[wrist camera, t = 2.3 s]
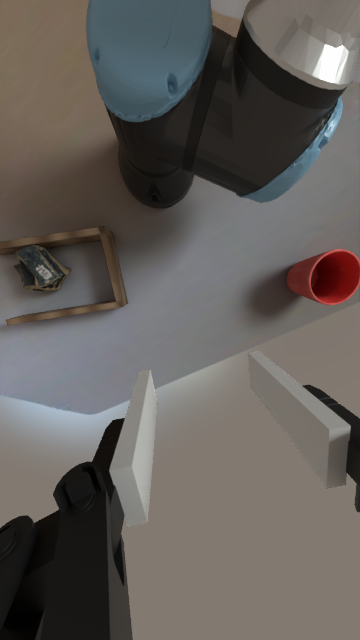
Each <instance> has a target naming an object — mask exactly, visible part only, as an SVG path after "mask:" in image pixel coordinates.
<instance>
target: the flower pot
mask: <svg viewBox="0 0 360 640" xmlns="http://www.w3.org/2000/svg"><path fill="white" fill-rule="evenodd" d="M359 283H360V261H359V259H358V258H357V257H356V256H355V255H354V254H353V253H352V252H350V251H347V250H343V249H336V250H332V251H328V252H325V253H322V254H319V255H316V256H314V257H311V258H308V259H306V260H303V261H301V262H298V263H296V264H295V265H294V266H293V267H292V268H291V269H290V270H289V272H288V275H287V285H288V287H289V288H290V290H292V291H293V292H295V293H297V294H299V295H302V296H304V297H306V298H309V299H311V300H313V301H316V302H319V303H321V304H325V305H335V304H339V303H342V302H344V301H346V300H347V299H348V298H350V297H351V296H352V295H353V294H354V292H355V291H356V289H357V288H358V286H359Z"/></svg>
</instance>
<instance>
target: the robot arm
mask: <svg viewBox="0 0 360 640" xmlns="http://www.w3.org/2000/svg"><path fill="white" fill-rule="evenodd" d="M212 23H213V20H212V12H211V2H210V0H89V3H88V9H87V19H86V32H87V44H88V50H89V54H90V58H91V62H92V65H93V69H94V72H95V76H96V82H97V86H98V90H99V93H100V95H101V97H102V100H103V101H104V104H105V107H106V109H107V112H108V114H109V117H110V120H111V122H112V125H113V127H114V130H115V133H116V135H117V138H118V140H119V143H120V145H119V155H118V157H119V166H120V171H121V174H122V177H123V179H124V181H125V184H126V186H127V188H128V189H129V191H130V192H131V193H132V195H133V196H134V197H135V198H136V199H137V200H139V201H140V202H142V203H143V204H145V205H147V206H150V207H154V208H166V207H170V206H172V205H175V204H176V203H178V202H179V201H180V200H182V199H183V198H184V197H185V195H186V194H187V193H188V191H189V189H190V187H191V185H192V182H193V178H194V175H196V176H198V177H201V178H203V179H205V180H207V181H210V182H212V183H214V184H216V185H219V186H221V187H223V188H225V189H228V190H230V191H232V192H234V193H236V195H237V196H239V197H241V198H248V199H251V200H254V201H256V202H260V203H262V202H269V201H272V200H274V199H276V198H278V197H279V196H281V195H282V194H284V193H285V192H286V191H287V190H289V189H290V188H291V187H292V186H293V185H294V184H295V183H296V182H297V181H298V180H299V179H300V178H301V177H302V176H303V175H304V174H305V173H306V172H307V170H308V169H309V168H310V167H311V166H312V164H313V163H314V162H315V160H316V159H317V158H318V156H319V155H320V150H321V148H322V147H323V146H324V145H325V144H326V143H328V142H329V140H330V138H331V137H332V135H333V133H334V131H335V129H336V127H337V125H338V123H339V120H340V118H341V115H342V109H343V103H342V101H341V94H342V93H343V92H344V90H345V89H346V88H347V86H348V85H349V84H350V82H351V80H352V79H353V77H354V73H355V67H356V60H357V53H358V47H359V44H360V0H250V1H249V2H248V4H247V6H246V8H245V11H244V14H243V18H242V21H241V24H240V28H239V31H238V35H237V38H236V37H232V36H231V35H229V34H227V33H226V32H224V31H222V30H221V29H219V28H217V27H216V26H214V25H212ZM248 357H249V371H250V386H251V388H252V389H253V391H254V392H255V394H256V395H257V396H258V398H259V399H260V400H261V402H262V403H263V404H264V405H265V407H266V408H267V410H268V411H269V412H270V413H271V415H272V416H273V417H274V419H275V420H276V422H277V423H278V424H279V426H280V427H281V428H282V430H283V431H284V432H285V433H286V435H287V436H288V438H289V439H290V440H291V442H292V443H293V444H294V446H295V447H296V448H297V450H298V451H299V452H300V454H301V455H302V456H303V458H304V459H305V460H306V462H307V463H308V464H309V466H310V467H311V468H312V470H313V471H314V472H315V474H316V475H317V476H318V478H319V479H320V480H321V482H322V483H323V484H324V486H325V487H326V488H332V487H337V486H342V485H346V477H347V473H348V474H349V475H350V476H351V478H352V479H353V480H354V481H355V482H356V483H357V486H356V497H355V507H356V510H357V512H360V419H359V418H358V417H357V416H355V415H354V414H353V413H351V412H350V411H349V410H347V409H346V408H345V407H343V406H342V405H340V404H338V402H336V401H335V400H334V399H332V398H330V396H328V395H327V394H326V393H324V392H323V391H322V390H320V389H317V388H315V387H313V386H311V385H305V386H301V385H300V384H299V383H298V382H296V381H295V380H294V379H293V378H292V377H290V376H289V375H288V374H287V373H285V372H284V371H283V370H282V369H280V368H279V367H278V366H277V365H276V364H274V363H273V362H272V361H271V360H269V359H268V358H267V357H266V356H265V355H263V354H262V353H261V352H260V351H255V352H249V353H248ZM157 405H158V403H157V398H156V394H155V389H154V384H153V379H152V375H151V370H144V371H139V374H138V377H137V381H136V384H135V387H134V390H133V394H132V397H131V400H130V404H129V407H128V410H127V414H126V417H125V418H122V419H116V420H113V421H112V422H111V423H110V424H109V426H108V427H107V428H106V429H105V432H104V435H103V437H102V440H101V442H100V444H99V448H98V449H97V451H96V454H95V456H94V459H93V461H92V462H84V463H81V464H79V465H77V466H75V467H74V468H72V469H71V470H70V471H69V472H67V473H66V474H65V475H64V476H63V477H62V479H61V480H60V482H59V483H58V484H57V486H56V488H55V491H54V493H53V496H54V498H55V500H56V502H57V505H58V507H59V510H58V511H56V512H54V513H52V514H50V515H49V516H47V517H45V518H43V519H41V520H39V521H38V522H36V523H34V522H33V520H32V519H31V518H30V517H29V516H19V517H17V518H15V519H13V520H11V521H9V522H8V523H6V524H5V525H4V526H2V527H1V528H0V640H133V639H132V628H131V618H130V608H129V596H128V585H127V576H126V565H125V554H124V543H123V539H122V535H121V530H122V526H123V520H124V518H125V521H126V524H127V527H130V526H135V525H140V524H145V523H148V513H149V512H148V511H149V501H150V487H151V476H152V464H153V452H154V440H155V429H156V428H155V427H156V417H157V416H156V415H157Z"/></svg>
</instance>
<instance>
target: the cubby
mask: <svg viewBox="0 0 360 640" xmlns="http://www.w3.org/2000/svg"><path fill="white" fill-rule="evenodd" d="M98 240H101V241H102V245H103V249H104V254H105V258H106V262H107V266H108V270H109V274H110V279H111V283H112V287H113V291H114V295H115V300H114V301H108V302H102V303H95V304H89V305H83V306H77V307H70V308H64V309H58V310H52V311H46V312H39V313H33V314H27V315H22V316H18V317H14V318H11V319H7V320H6V322H7V325H13V324H19V323H25V322H31V321H38V320H44V319H50V318H56V317H62V316H69V315H75V314H81V313H87V312H93V311H99V310H106V309H112V308H118V307H123V306H125V305H126V304H128V301H127V297H126V292H125V288H124V283H123V279H122V274H121V270H120V265H119V261H118V256H117V252H116V248H115V243H114V239H113V234H112V232H111V231H110V230H108V229H107V228H106V227H105V226H103V227H96V228H89V229H83V230H76V231H69V232H63V233H56V234H49V235H43V236H36V237H29V238H23V239H16V240H9V241H3V242H0V255H6V254H12V253H16V252H17V251H19V250H20V249H22V248H25V247H28V246H30V245H37V246H39V247H44V248H52V247H59V246H65V245H72V244H78V243H85V242H92V241H98Z"/></svg>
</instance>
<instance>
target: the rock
mask: <svg viewBox="0 0 360 640" xmlns="http://www.w3.org/2000/svg"><path fill="white" fill-rule="evenodd" d="M15 254H16V255H17V257H18V258H19V259H20V263H21V264H18V265H14V267H15V269H16V270H17V272H18V273H19V274H20V276H21V278H22V282H23V287H24V288H25V289H28V290H34V291H56V290H60V289H61V287H62V284H63V281H64V279H65V278H66V276H68V275H69V274H70V272H71V269H70V268H67V267H63V266H62V265H61V263H59V262H58V261H57V260H56V259H55V258H54V257H52V255H51V254H50V253H49V252H48V251H47V250H46V249H45V248H44V247H39V246H37V245H30V246H28V247H25V248H22V249H20V250H19V251H17V252H16V253H15Z"/></svg>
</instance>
